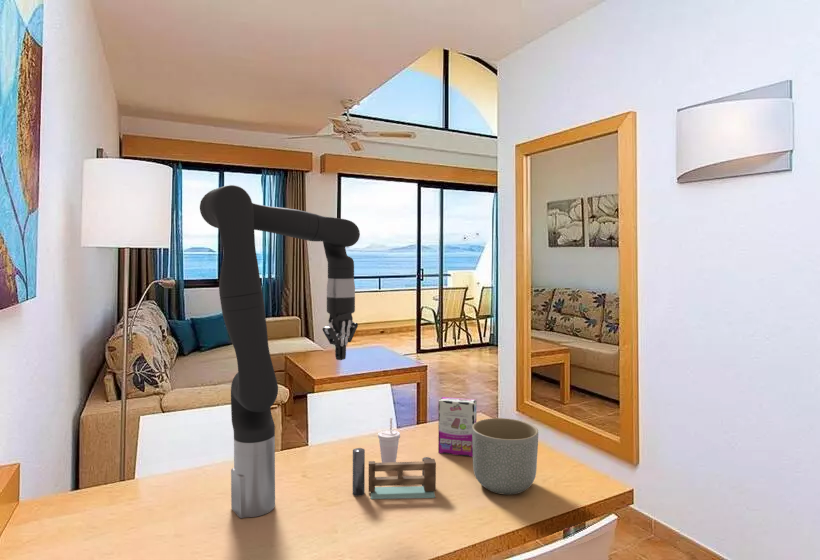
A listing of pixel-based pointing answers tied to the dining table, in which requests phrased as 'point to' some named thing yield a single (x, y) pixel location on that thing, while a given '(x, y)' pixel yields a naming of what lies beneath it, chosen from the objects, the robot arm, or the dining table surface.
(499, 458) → the planter
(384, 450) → the smoothie
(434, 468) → the gate
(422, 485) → the post
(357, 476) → the gatepost
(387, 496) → the open mat
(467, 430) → the candy bar box
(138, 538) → the dining table surface
